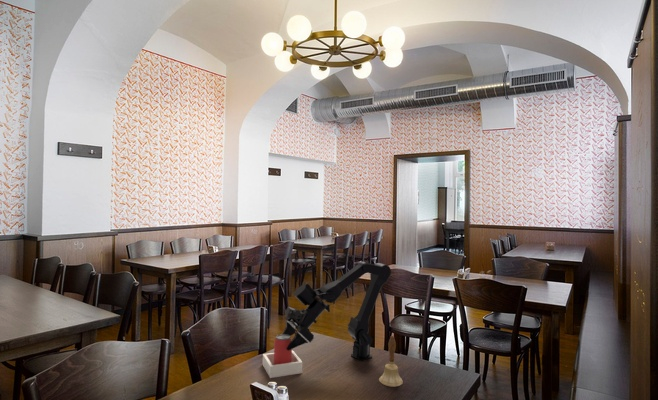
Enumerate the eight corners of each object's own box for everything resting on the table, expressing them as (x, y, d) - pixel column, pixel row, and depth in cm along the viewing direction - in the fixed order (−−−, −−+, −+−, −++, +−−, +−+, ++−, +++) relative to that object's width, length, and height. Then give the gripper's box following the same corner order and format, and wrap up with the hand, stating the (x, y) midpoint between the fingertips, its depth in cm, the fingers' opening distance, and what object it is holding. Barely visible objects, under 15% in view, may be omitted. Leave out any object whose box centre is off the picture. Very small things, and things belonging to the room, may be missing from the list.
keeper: (292, 360, 151) (292, 350, 151) (302, 373, 140) (302, 362, 140) (262, 364, 147) (262, 354, 147) (270, 378, 136) (270, 366, 136)
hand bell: (407, 381, 136) (408, 336, 136) (394, 389, 130) (395, 342, 130) (387, 373, 141) (388, 330, 141) (374, 381, 135) (375, 335, 135)
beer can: (282, 374, 139) (283, 341, 139) (269, 369, 143) (270, 336, 143) (294, 368, 144) (295, 336, 144) (282, 363, 148) (282, 332, 148)
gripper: (290, 293, 154) (263, 324, 150) (306, 305, 137) (275, 340, 133) (308, 311, 157) (282, 341, 153) (326, 325, 140) (296, 359, 136)
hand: (283, 345), depth 144 cm, fingers open, 9 cm apart
